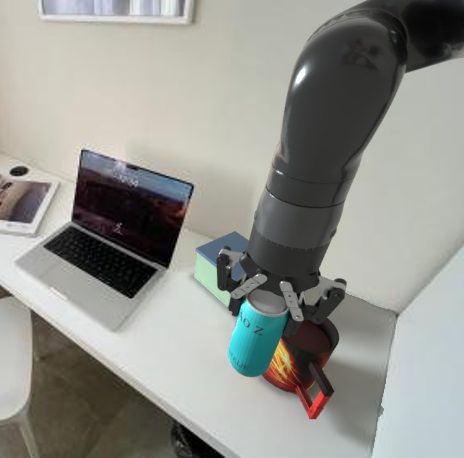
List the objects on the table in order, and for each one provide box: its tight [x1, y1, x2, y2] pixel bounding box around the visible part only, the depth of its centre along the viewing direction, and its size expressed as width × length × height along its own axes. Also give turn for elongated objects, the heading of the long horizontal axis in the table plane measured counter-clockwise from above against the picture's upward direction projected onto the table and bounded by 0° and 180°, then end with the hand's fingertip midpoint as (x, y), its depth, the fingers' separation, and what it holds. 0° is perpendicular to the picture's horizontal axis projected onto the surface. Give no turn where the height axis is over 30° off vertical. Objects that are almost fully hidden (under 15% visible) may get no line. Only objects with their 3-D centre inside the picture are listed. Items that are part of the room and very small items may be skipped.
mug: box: [260, 317, 340, 420], centre depth 61 cm, size 10×14×12 cm
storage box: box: [193, 252, 246, 308], centre depth 80 cm, size 14×12×8 cm
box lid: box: [195, 230, 249, 281], centre depth 78 cm, size 14×12×1 cm
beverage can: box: [227, 288, 290, 378], centre depth 51 cm, size 6×6×15 cm
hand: (260, 321), depth 49 cm, fingers closed on beverage can, 5 cm apart
